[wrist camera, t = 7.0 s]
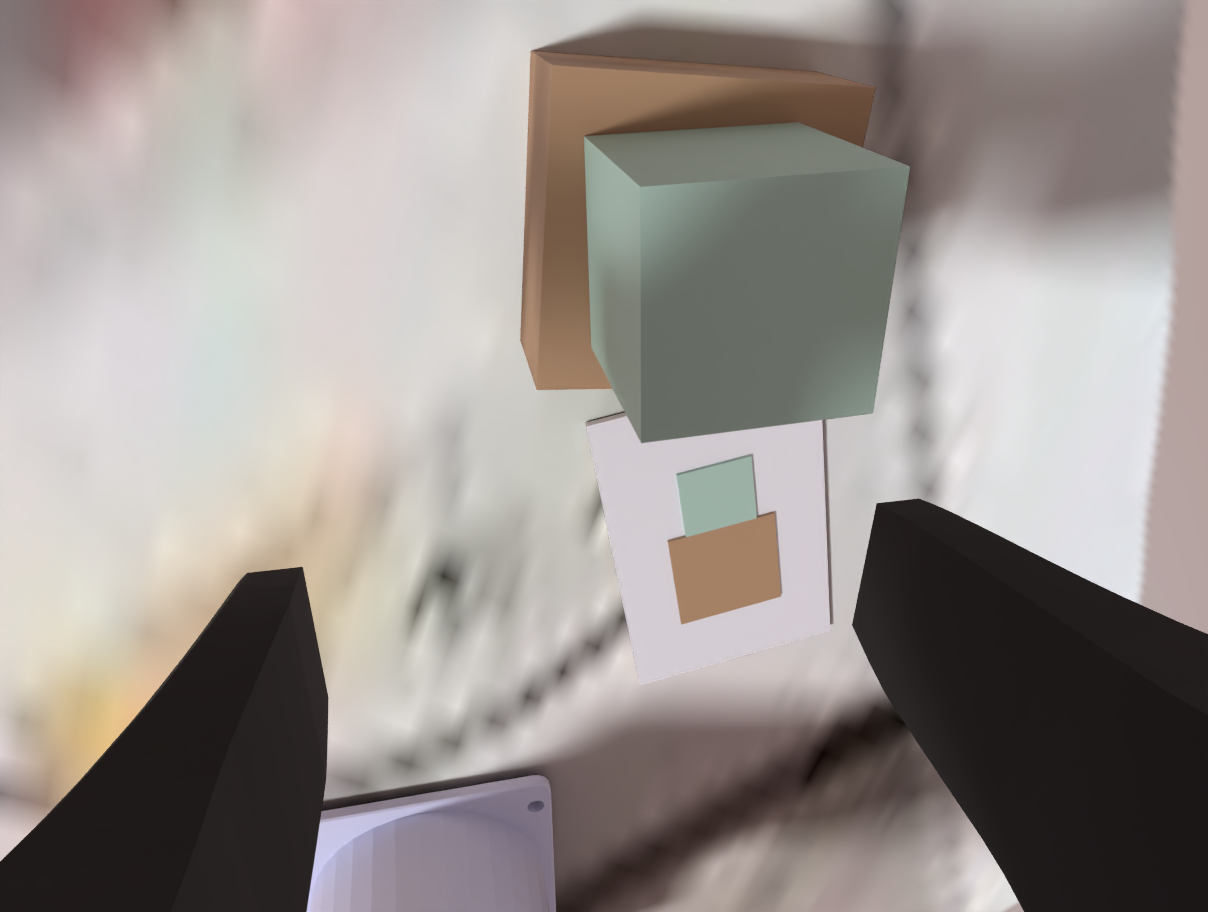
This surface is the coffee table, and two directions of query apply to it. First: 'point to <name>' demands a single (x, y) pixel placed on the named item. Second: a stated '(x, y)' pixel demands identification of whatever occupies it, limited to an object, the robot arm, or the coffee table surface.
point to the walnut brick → (631, 105)
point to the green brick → (739, 274)
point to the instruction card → (714, 540)
